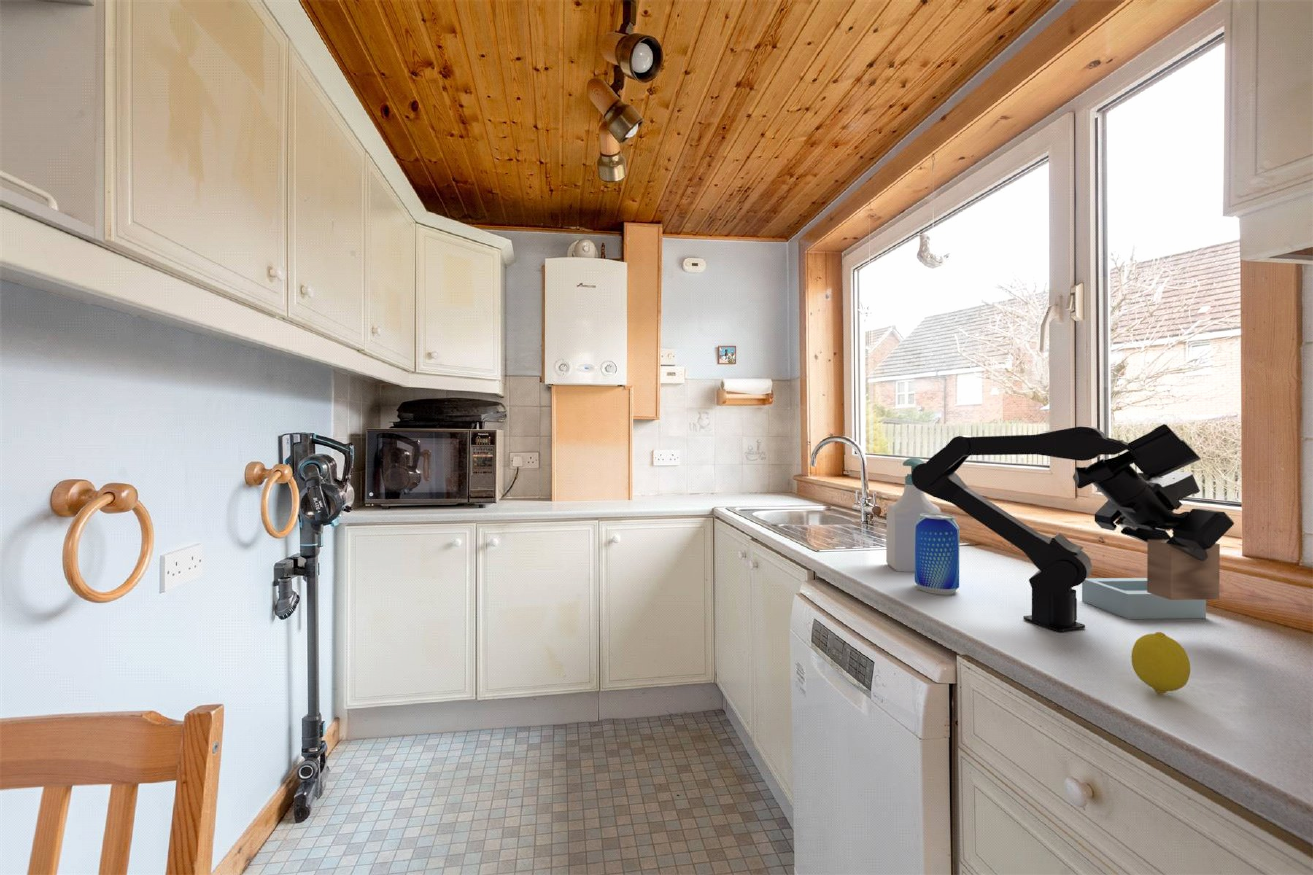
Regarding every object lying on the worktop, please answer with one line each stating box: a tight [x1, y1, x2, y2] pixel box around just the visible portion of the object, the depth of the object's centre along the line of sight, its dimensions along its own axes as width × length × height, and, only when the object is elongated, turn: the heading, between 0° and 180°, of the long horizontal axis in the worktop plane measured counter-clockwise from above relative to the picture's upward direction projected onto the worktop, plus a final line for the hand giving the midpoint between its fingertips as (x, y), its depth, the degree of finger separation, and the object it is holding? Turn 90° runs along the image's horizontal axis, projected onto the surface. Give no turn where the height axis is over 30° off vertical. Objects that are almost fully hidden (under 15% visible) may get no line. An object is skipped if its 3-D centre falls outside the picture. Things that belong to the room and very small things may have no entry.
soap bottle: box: [885, 457, 942, 573], centre depth 129 cm, size 11×8×27 cm
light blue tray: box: [1081, 577, 1207, 620], centre depth 100 cm, size 14×10×4 cm
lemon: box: [1130, 631, 1191, 694], centre depth 68 cm, size 6×6×8 cm
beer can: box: [914, 513, 960, 596], centre depth 112 cm, size 8×8×16 cm
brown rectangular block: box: [1146, 539, 1221, 601], centre depth 87 cm, size 8×4×9 cm, turn 91°
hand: (1191, 555), depth 87 cm, fingers closed on brown rectangular block, 4 cm apart
